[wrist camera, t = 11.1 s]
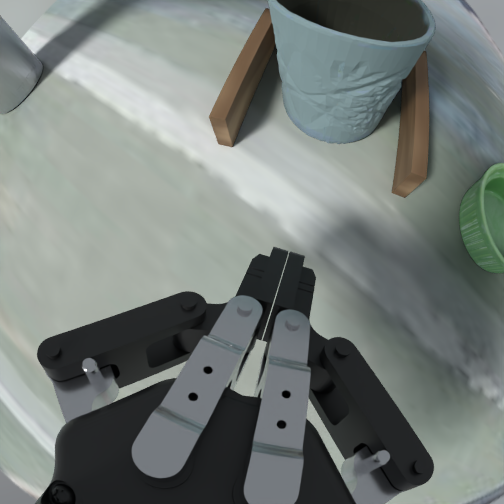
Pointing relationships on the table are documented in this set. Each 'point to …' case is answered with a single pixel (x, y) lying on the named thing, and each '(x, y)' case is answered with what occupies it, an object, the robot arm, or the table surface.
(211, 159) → the table surface
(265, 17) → the brown piece
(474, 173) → the table surface
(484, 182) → the ramekin
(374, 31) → the blue-grey plant pot
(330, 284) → the table surface
